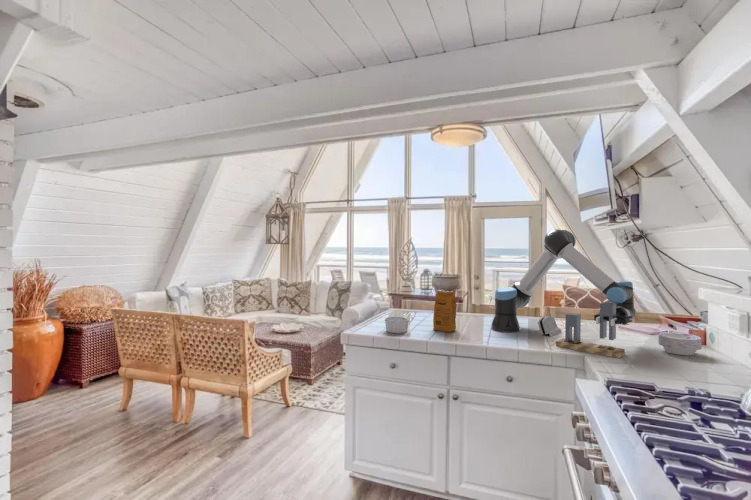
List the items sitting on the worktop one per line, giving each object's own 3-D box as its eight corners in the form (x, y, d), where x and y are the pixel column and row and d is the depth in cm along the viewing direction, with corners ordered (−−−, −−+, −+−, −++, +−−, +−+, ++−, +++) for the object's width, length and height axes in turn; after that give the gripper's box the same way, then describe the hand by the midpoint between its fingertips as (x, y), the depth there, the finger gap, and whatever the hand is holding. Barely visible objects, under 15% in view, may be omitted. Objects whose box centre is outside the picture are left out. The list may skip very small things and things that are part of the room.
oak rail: (556, 346, 179) (556, 341, 179) (562, 343, 185) (562, 338, 185) (619, 358, 161) (619, 352, 161) (624, 354, 166) (624, 348, 166)
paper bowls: (649, 348, 177) (650, 331, 177) (680, 348, 178) (680, 331, 178) (677, 358, 162) (677, 339, 162) (711, 357, 163) (711, 339, 163)
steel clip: (599, 338, 168) (599, 303, 167) (603, 336, 171) (603, 302, 171) (612, 340, 164) (612, 304, 164) (615, 338, 167) (616, 303, 167)
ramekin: (408, 329, 214) (409, 316, 214) (408, 334, 201) (408, 321, 201) (385, 328, 216) (385, 316, 215) (383, 333, 202) (383, 320, 202)
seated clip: (565, 346, 178) (565, 314, 178) (569, 345, 182) (569, 312, 181) (576, 349, 174) (577, 315, 174) (580, 347, 178) (580, 314, 178)
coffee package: (438, 327, 220) (438, 289, 219) (458, 330, 212) (458, 291, 212) (430, 330, 212) (430, 290, 211) (450, 333, 204) (451, 292, 204)
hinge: (550, 336, 199) (544, 317, 201) (541, 337, 202) (535, 319, 204) (561, 331, 211) (555, 313, 213) (553, 333, 214) (547, 315, 216)
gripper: (641, 326, 173) (628, 334, 157) (597, 320, 186) (581, 327, 170) (642, 309, 173) (628, 316, 157) (598, 305, 186) (581, 310, 170)
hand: (604, 321), depth 164 cm, fingers closed on steel clip, 5 cm apart
